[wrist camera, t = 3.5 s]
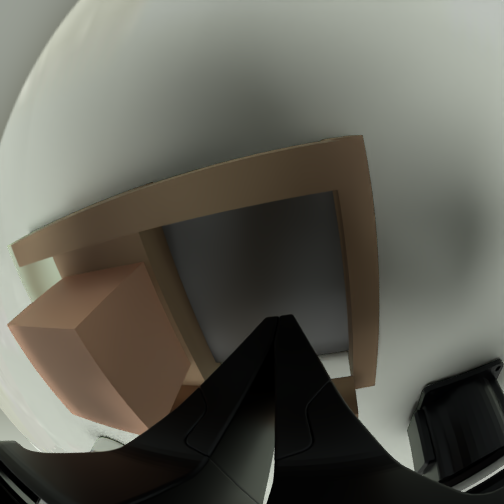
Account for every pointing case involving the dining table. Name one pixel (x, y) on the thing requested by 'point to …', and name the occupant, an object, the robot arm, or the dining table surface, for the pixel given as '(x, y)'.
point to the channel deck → (239, 253)
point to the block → (105, 347)
